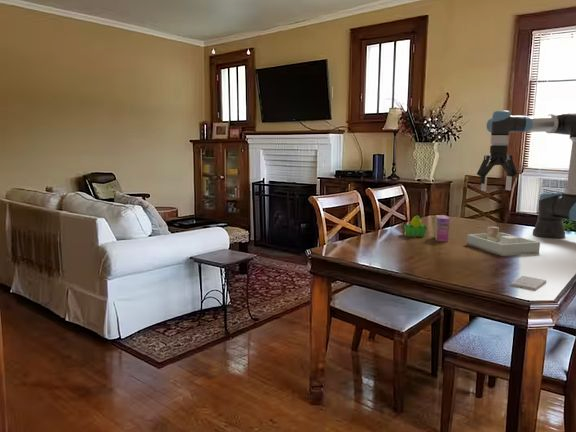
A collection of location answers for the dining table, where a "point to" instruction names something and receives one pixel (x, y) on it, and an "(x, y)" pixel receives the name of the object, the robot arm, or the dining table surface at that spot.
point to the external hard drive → (528, 283)
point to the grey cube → (509, 240)
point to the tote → (503, 245)
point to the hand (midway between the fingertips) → (495, 190)
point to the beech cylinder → (492, 234)
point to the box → (441, 228)
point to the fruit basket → (415, 228)
